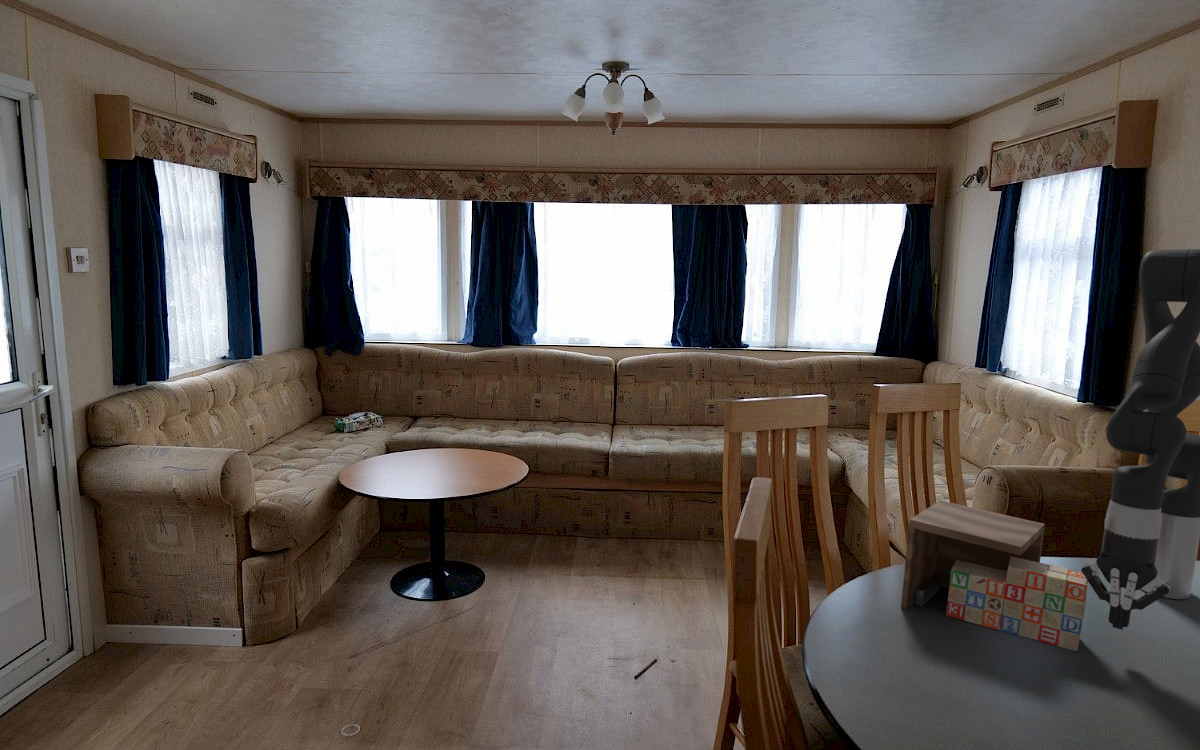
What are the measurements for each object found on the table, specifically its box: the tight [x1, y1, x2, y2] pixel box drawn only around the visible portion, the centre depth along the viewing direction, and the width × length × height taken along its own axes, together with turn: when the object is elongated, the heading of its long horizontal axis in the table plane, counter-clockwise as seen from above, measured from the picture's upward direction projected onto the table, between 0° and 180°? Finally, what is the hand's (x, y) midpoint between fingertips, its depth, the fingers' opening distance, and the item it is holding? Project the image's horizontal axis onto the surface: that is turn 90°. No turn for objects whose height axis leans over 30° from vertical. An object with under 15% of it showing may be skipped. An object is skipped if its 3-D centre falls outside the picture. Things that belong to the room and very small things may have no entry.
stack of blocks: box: [945, 557, 1089, 652], centre depth 140 cm, size 21×6×12 cm, turn 56°
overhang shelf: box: [900, 500, 1046, 610], centre depth 146 cm, size 17×19×18 cm
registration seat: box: [913, 574, 941, 607], centre depth 152 cm, size 10×2×3 cm, turn 138°
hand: (1117, 626), depth 131 cm, fingers closed
